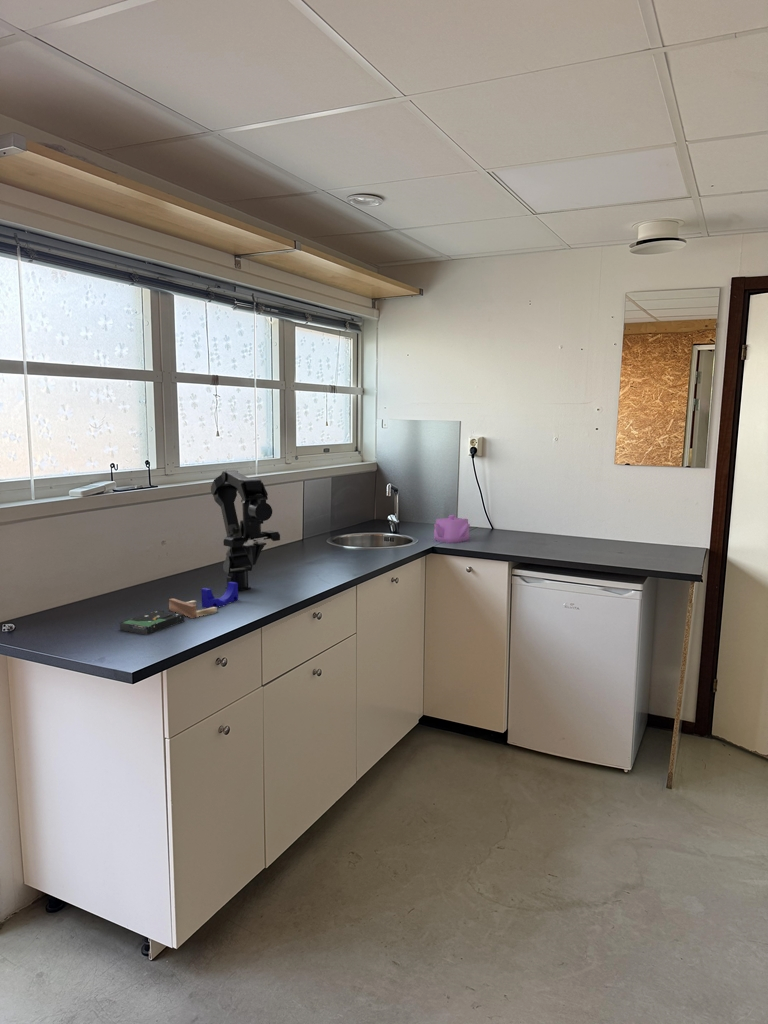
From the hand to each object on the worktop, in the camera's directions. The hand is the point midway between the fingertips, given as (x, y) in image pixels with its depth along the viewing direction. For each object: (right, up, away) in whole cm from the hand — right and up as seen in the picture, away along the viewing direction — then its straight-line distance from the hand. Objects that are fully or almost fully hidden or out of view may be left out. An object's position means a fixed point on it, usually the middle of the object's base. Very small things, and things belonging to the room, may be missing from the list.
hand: (253, 564), depth 227 cm
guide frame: (-15, -13, -14) cm, 25 cm away
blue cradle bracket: (-9, -12, -6) cm, 16 cm away
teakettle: (+75, +3, +108) cm, 131 cm away
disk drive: (-23, -16, -29) cm, 40 cm away
